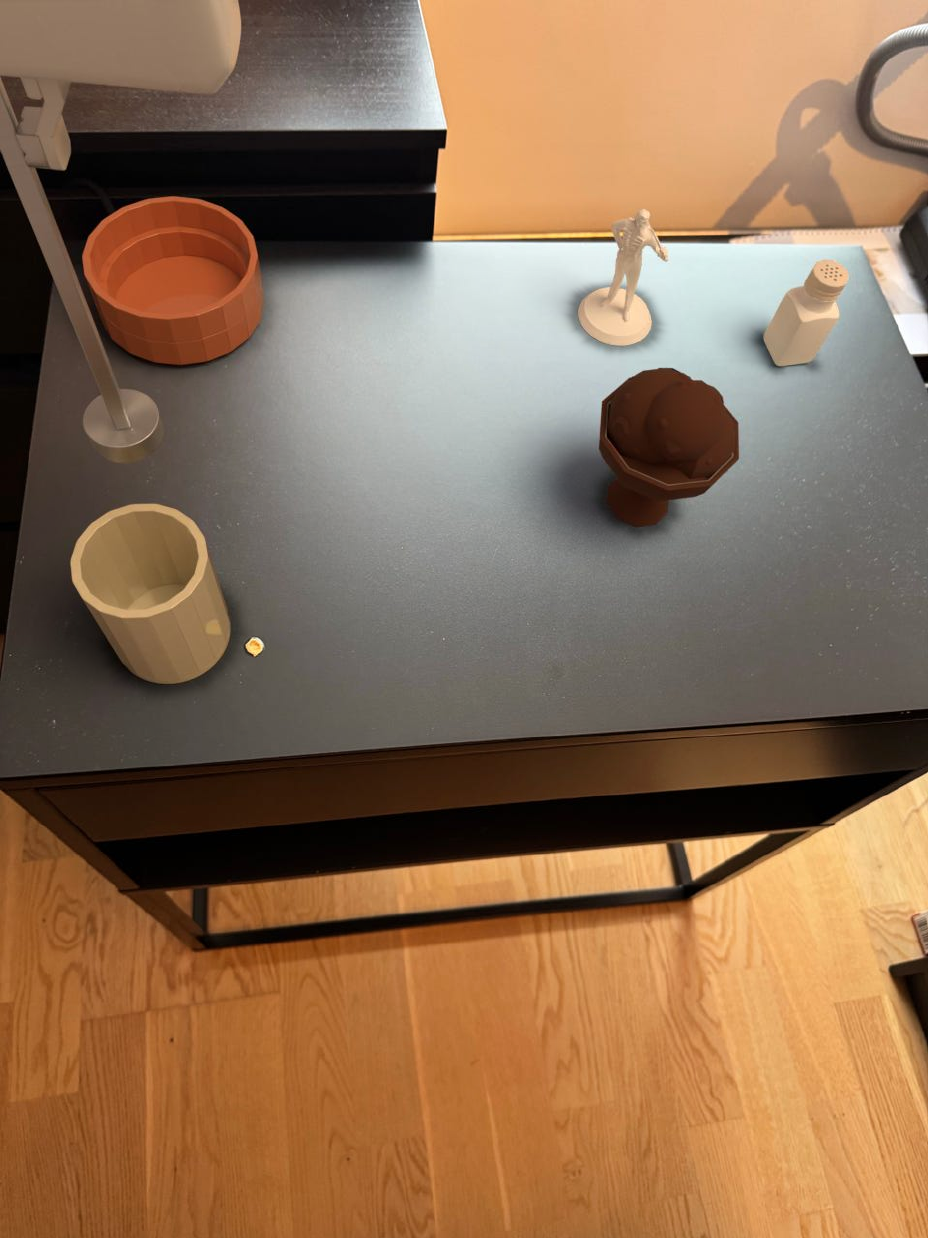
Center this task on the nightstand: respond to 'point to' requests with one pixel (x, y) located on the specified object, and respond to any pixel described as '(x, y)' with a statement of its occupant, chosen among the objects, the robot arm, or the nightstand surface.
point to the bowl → (175, 279)
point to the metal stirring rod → (82, 321)
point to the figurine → (617, 309)
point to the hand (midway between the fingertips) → (16, 157)
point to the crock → (153, 591)
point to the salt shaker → (806, 315)
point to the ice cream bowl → (664, 442)
